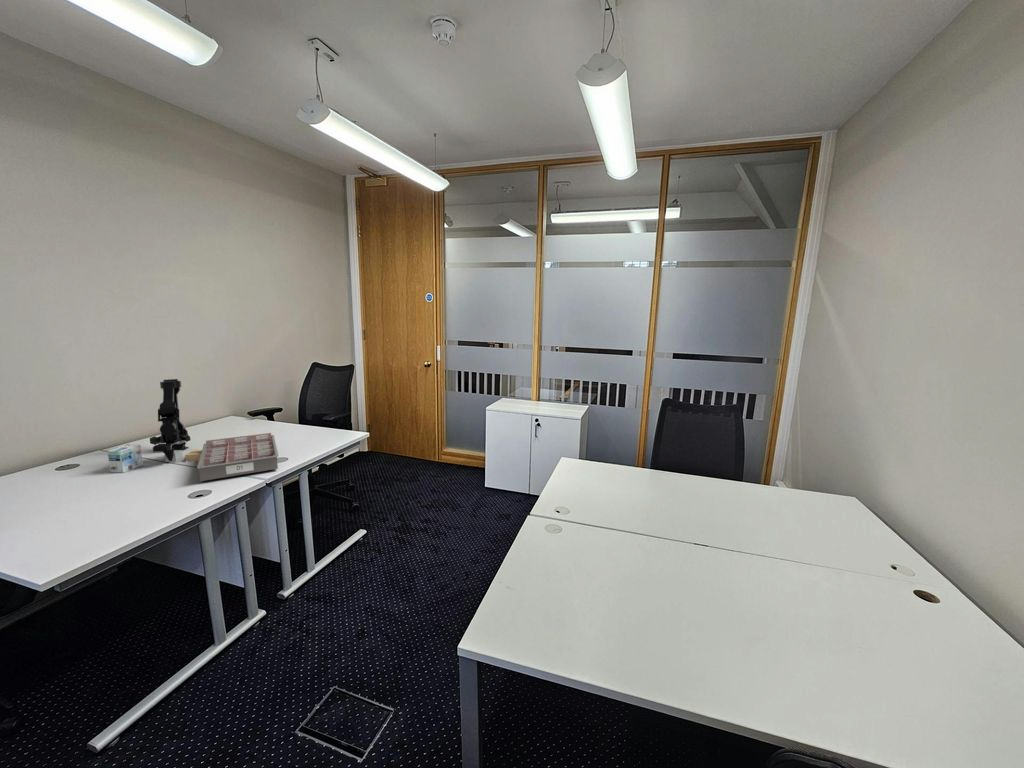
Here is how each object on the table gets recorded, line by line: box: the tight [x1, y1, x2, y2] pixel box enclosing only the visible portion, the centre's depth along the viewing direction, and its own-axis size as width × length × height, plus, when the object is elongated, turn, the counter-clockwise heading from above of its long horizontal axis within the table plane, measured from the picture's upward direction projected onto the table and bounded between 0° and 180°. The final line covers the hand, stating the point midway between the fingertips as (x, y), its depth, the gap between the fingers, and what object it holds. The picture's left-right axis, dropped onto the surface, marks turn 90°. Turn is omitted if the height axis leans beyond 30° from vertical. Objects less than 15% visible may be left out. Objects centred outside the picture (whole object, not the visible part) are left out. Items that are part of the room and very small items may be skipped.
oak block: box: [184, 449, 202, 462], centre depth 217 cm, size 8×8×4 cm
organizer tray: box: [196, 432, 279, 482], centre depth 210 cm, size 32×40×10 cm
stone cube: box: [164, 450, 184, 464], centre depth 213 cm, size 5×5×5 cm
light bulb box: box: [107, 443, 144, 474], centre depth 201 cm, size 11×7×11 cm, turn 179°
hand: (174, 459), depth 213 cm, fingers closed on stone cube, 5 cm apart
